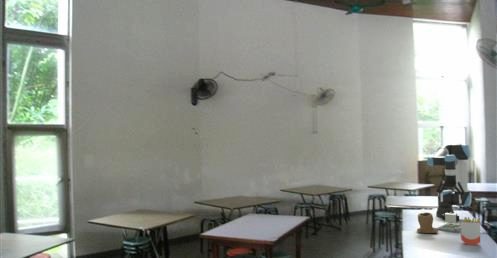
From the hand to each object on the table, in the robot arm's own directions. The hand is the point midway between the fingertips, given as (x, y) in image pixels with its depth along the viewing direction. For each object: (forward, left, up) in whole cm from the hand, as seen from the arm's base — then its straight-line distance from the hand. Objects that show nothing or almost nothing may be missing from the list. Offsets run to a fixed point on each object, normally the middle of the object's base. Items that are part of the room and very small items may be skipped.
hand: (450, 202), depth 320 cm
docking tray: (0, 0, -21) cm, 21 cm away
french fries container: (+37, +24, -21) cm, 48 cm away
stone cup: (+24, -9, -21) cm, 33 cm away
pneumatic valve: (0, 0, -20) cm, 20 cm away
